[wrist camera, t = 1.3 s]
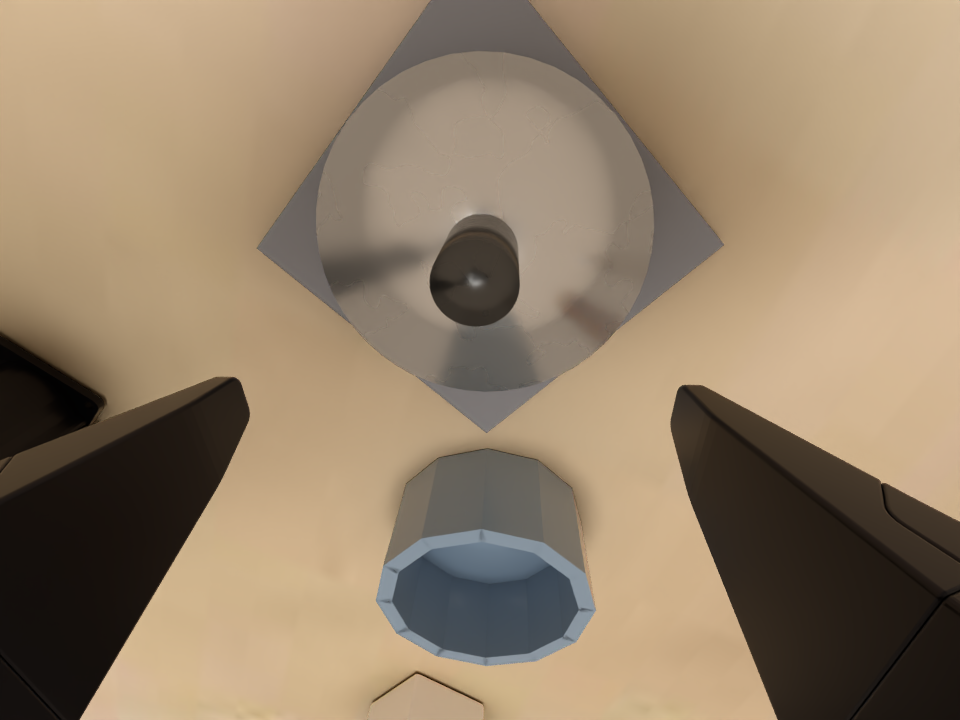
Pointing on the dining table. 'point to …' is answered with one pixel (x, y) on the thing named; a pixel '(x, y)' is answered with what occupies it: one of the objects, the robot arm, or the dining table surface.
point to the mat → (521, 31)
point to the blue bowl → (487, 561)
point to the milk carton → (424, 703)
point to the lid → (485, 221)
